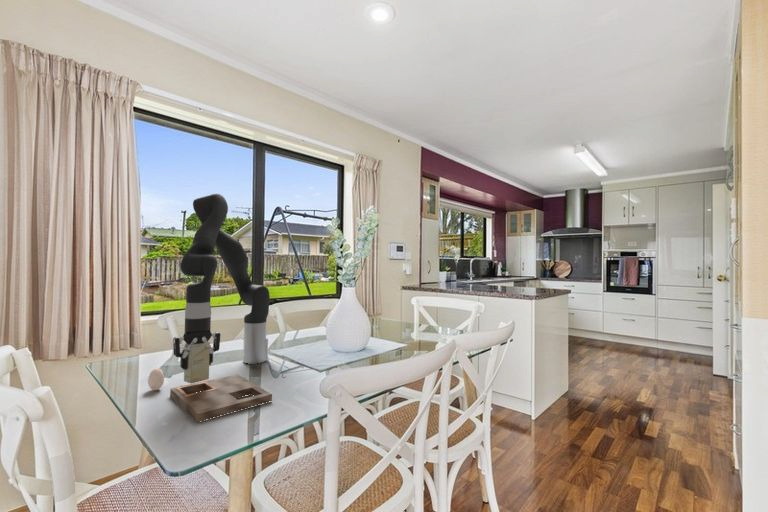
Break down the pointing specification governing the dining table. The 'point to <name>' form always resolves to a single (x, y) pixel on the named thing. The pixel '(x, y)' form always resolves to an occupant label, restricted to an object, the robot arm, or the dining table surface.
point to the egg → (156, 379)
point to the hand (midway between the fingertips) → (196, 366)
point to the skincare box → (197, 363)
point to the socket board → (218, 396)
